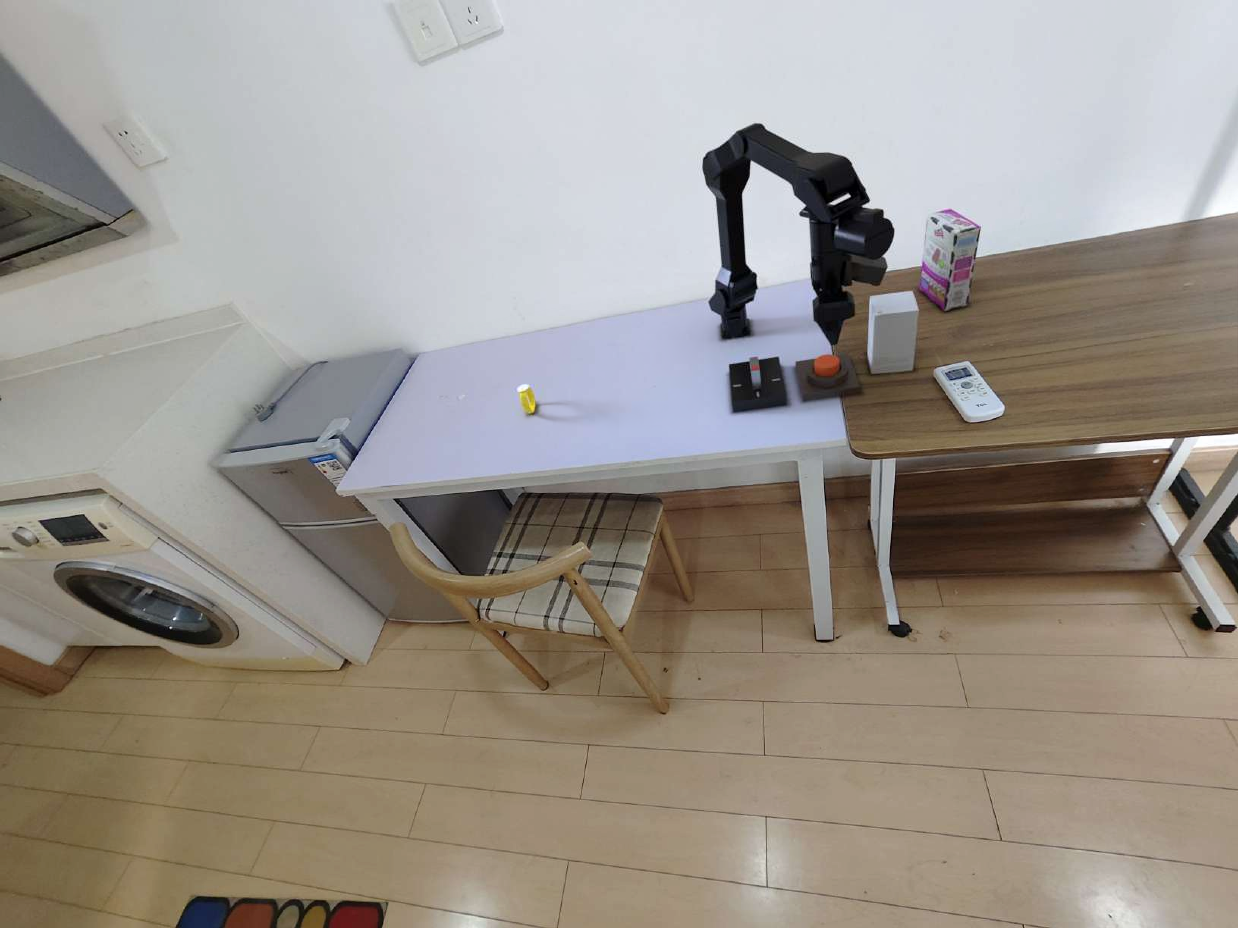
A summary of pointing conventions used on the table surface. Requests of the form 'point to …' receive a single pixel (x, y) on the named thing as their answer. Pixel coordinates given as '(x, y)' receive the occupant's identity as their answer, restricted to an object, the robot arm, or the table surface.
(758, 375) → the burner knob
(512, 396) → the table surface
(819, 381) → the brown button base
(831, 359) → the button
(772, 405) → the hob panel
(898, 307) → the white packaging box
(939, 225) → the candy bar box
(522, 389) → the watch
